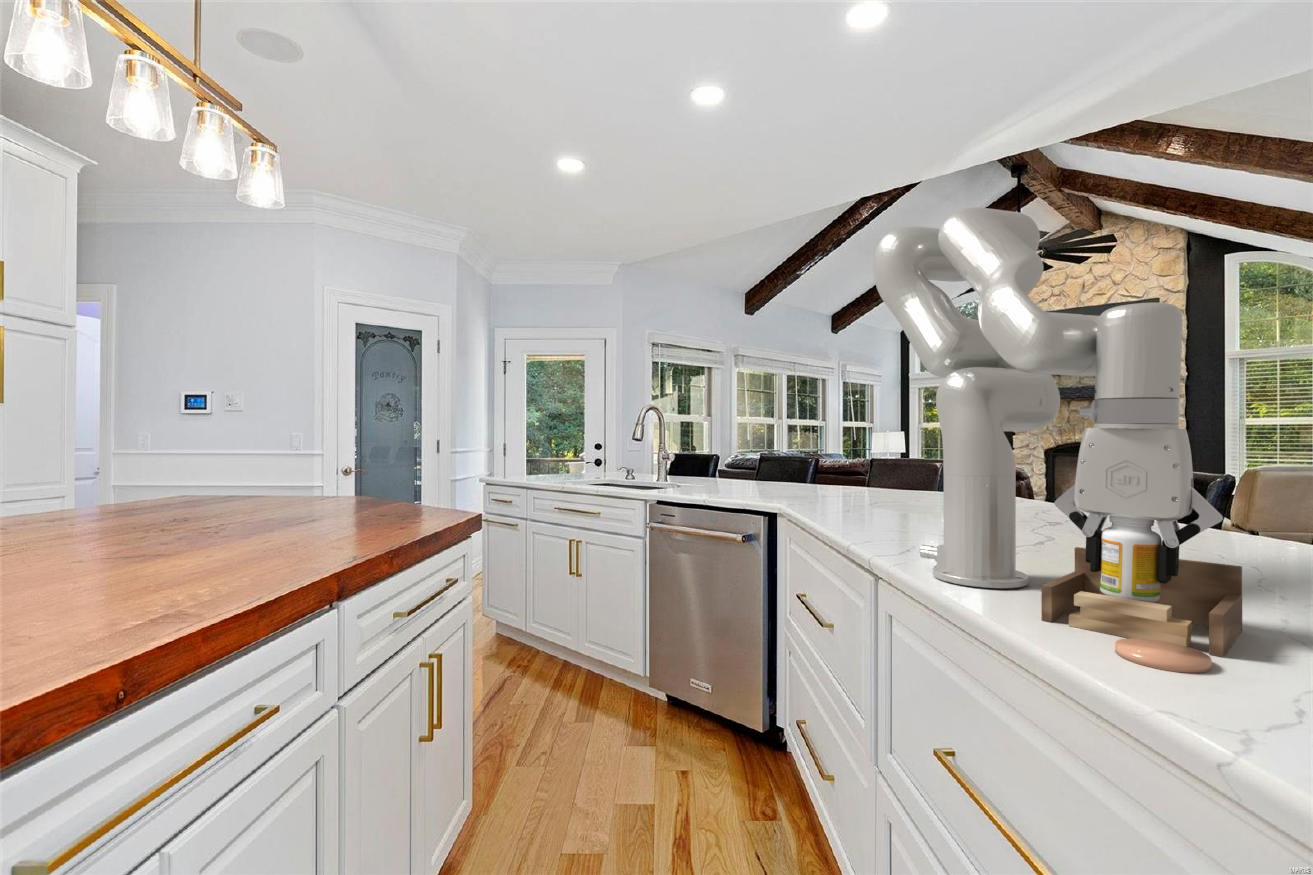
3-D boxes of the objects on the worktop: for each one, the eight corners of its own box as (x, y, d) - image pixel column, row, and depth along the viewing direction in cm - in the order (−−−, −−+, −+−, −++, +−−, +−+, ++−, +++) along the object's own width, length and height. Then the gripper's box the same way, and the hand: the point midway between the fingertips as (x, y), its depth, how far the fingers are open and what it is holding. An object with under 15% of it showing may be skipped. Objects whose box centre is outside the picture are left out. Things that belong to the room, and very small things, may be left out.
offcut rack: (1041, 620, 70) (1041, 559, 70) (1077, 601, 78) (1077, 547, 78) (1223, 657, 58) (1222, 584, 58) (1242, 630, 66) (1242, 566, 66)
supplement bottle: (1162, 596, 69) (1165, 511, 68) (1157, 606, 65) (1160, 516, 64) (1104, 586, 72) (1106, 506, 72) (1095, 596, 69) (1098, 510, 68)
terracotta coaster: (1106, 657, 58) (1106, 648, 58) (1125, 641, 62) (1125, 633, 62) (1203, 679, 53) (1203, 670, 53) (1217, 660, 57) (1217, 652, 57)
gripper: (1037, 415, 72) (1033, 566, 73) (1234, 415, 59) (1227, 599, 60) (1058, 416, 77) (1054, 557, 78) (1245, 416, 64) (1239, 586, 64)
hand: (1129, 574), depth 69 cm, fingers closed on supplement bottle, 5 cm apart
